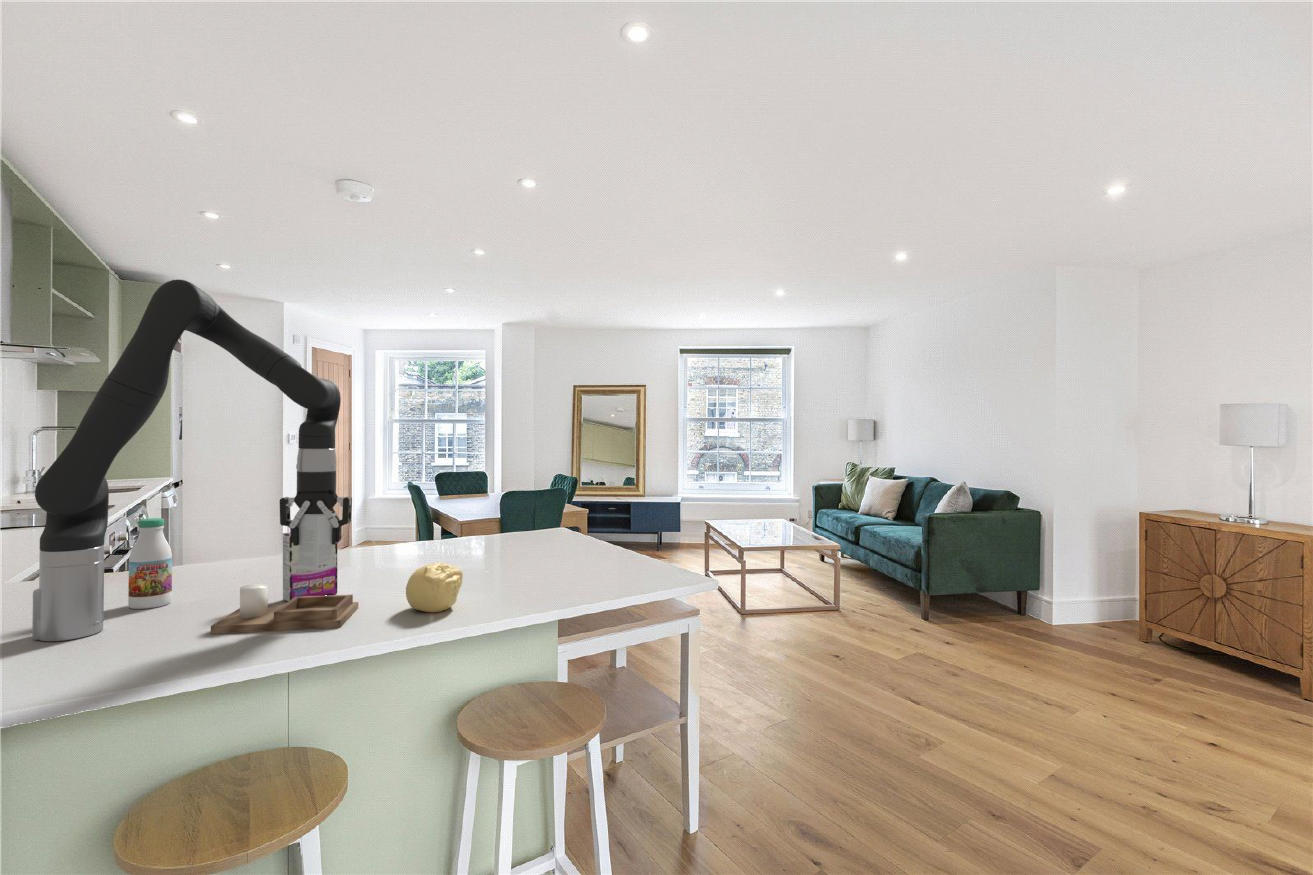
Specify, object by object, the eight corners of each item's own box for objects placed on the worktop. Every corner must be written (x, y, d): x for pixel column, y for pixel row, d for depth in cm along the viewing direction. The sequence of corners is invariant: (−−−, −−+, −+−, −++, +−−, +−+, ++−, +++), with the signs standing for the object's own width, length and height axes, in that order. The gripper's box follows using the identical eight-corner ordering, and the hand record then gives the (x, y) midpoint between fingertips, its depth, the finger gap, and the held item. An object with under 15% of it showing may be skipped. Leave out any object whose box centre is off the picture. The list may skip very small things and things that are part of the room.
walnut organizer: (210, 633, 121) (211, 596, 121) (242, 613, 134) (242, 579, 134) (340, 627, 126) (341, 591, 126) (358, 608, 140) (358, 576, 140)
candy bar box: (328, 590, 154) (329, 527, 154) (338, 594, 151) (338, 529, 151) (280, 599, 145) (281, 532, 145) (289, 603, 142) (290, 534, 142)
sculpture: (443, 618, 134) (444, 569, 134) (395, 614, 136) (396, 566, 136) (469, 604, 145) (470, 559, 145) (424, 600, 147) (425, 556, 147)
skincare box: (333, 567, 132) (334, 513, 132) (315, 571, 128) (316, 515, 128) (315, 564, 134) (316, 511, 134) (297, 568, 131) (297, 513, 130)
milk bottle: (121, 606, 138) (122, 519, 137) (161, 598, 144) (162, 515, 144) (137, 611, 134) (139, 522, 134) (178, 603, 141) (179, 518, 141)
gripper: (357, 468, 136) (356, 540, 137) (286, 468, 133) (286, 542, 133) (347, 470, 129) (346, 547, 129) (273, 470, 126) (272, 548, 126)
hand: (316, 544), depth 131 cm, fingers closed on skincare box, 7 cm apart
